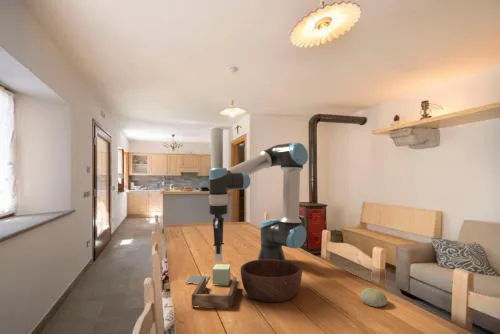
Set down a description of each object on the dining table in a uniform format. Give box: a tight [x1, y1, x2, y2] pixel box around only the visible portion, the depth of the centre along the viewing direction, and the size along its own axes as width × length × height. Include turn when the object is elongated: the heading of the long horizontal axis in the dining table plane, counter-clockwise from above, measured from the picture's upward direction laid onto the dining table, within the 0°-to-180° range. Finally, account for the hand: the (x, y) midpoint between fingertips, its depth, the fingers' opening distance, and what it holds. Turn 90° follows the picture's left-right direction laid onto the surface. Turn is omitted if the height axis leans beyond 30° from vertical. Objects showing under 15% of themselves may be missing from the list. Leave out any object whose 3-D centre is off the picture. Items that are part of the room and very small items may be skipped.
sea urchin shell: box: [359, 287, 388, 308], centre depth 108 cm, size 9×8×8 cm
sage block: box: [212, 263, 231, 286], centre depth 129 cm, size 7×7×7 cm
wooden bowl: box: [240, 259, 303, 303], centre depth 118 cm, size 25×25×10 cm
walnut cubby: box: [191, 276, 238, 309], centre depth 113 cm, size 14×19×4 cm
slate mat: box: [185, 275, 211, 284], centre depth 131 cm, size 9×9×1 cm
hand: (218, 260), depth 121 cm, fingers closed
